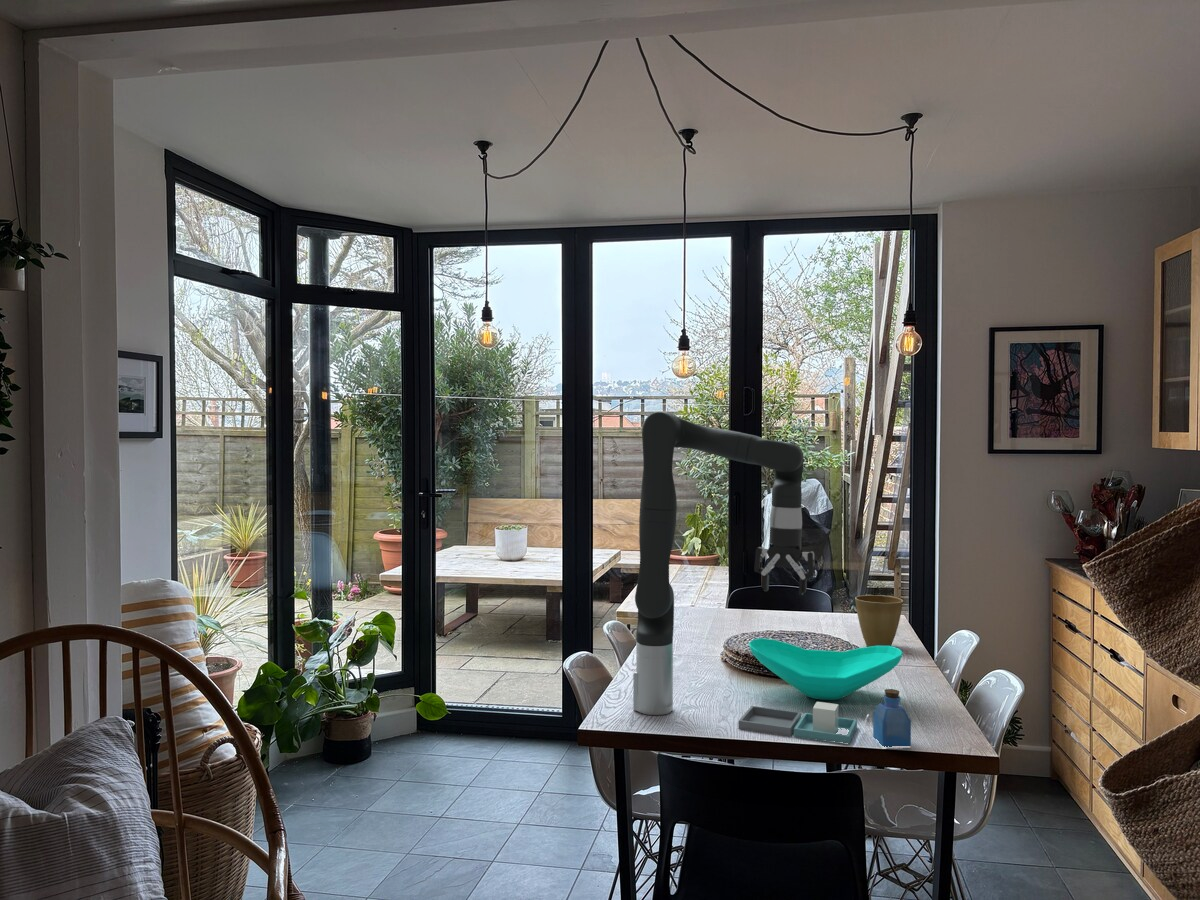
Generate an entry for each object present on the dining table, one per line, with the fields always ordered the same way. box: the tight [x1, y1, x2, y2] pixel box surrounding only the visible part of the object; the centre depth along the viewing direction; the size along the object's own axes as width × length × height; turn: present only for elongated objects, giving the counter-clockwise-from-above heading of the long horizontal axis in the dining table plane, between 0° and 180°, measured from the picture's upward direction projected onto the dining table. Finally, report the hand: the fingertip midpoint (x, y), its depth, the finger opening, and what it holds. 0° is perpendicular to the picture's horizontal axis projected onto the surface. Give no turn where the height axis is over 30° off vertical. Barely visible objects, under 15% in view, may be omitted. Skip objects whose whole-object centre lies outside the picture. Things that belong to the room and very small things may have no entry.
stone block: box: [812, 701, 839, 734], centre depth 197 cm, size 5×5×6 cm
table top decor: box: [748, 637, 904, 701], centre depth 226 cm, size 40×28×13 cm
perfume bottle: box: [872, 688, 912, 747], centre depth 191 cm, size 6×6×12 cm
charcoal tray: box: [737, 705, 802, 737], centre depth 203 cm, size 12×12×2 cm
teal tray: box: [793, 712, 858, 745], centre depth 197 cm, size 12×12×2 cm
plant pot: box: [854, 594, 904, 647], centre depth 278 cm, size 15×15×16 cm
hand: (783, 592), depth 205 cm, fingers open, 8 cm apart
